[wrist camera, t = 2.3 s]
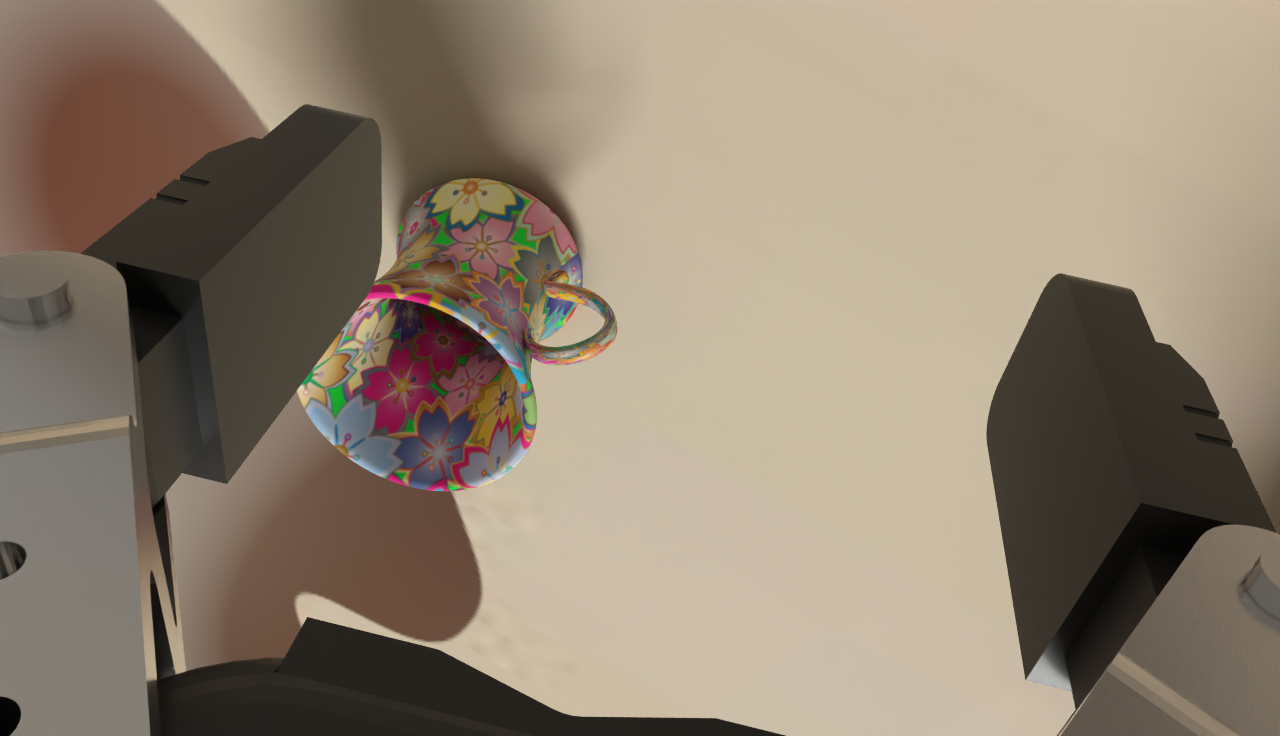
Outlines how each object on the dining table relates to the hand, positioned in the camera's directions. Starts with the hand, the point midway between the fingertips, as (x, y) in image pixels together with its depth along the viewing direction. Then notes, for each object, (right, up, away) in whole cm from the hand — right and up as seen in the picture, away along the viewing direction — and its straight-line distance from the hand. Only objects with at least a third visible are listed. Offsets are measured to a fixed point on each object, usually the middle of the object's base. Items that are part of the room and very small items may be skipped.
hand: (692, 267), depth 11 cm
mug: (-6, +4, +34) cm, 34 cm away
